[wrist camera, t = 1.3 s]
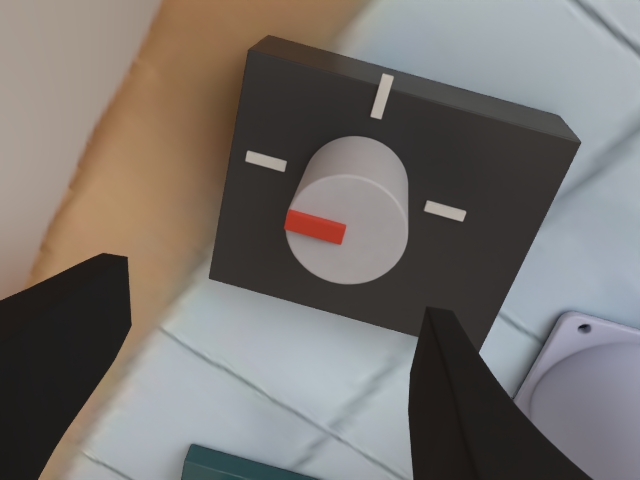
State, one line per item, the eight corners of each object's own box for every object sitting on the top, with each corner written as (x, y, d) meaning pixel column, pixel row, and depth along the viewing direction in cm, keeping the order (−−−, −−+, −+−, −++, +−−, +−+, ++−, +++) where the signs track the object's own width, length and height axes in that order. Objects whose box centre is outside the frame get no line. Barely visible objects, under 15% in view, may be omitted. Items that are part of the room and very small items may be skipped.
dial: (422, 151, 19) (425, 199, 16) (390, 243, 21) (387, 304, 17) (317, 122, 19) (297, 163, 16) (294, 216, 21) (272, 272, 17)
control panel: (565, 105, 21) (589, 131, 18) (470, 310, 25) (479, 357, 22) (270, 23, 21) (248, 37, 18) (228, 243, 25) (206, 281, 23)
